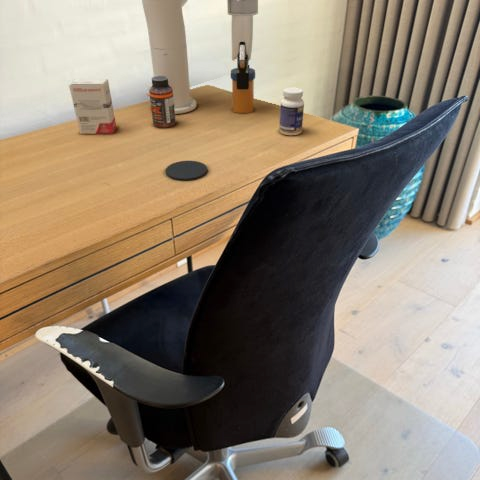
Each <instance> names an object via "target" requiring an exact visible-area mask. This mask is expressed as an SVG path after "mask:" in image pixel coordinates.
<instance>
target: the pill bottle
mask: <svg viewBox="0 0 480 480" xmlns="http://www.w3.org/2000/svg"><path fill="white" fill-rule="evenodd" d="M282 96H283V98H282V99H281V101H280V110H279V111H280V112H279V113H280V114H279V132H280V133H281V134H282V135H284V136H285V135H286V136H297V135H300V134H301V133H302V132H303V121H304V109H305V101H304V100H303V98H302V97H303V96H304V90H303V89H302V88H300V87H285V88H284V89H283V91H282Z"/></svg>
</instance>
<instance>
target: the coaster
mask: <svg viewBox="0 0 480 480" xmlns="http://www.w3.org/2000/svg"><path fill="white" fill-rule="evenodd" d="M207 173H208V166H207V165H206V164H204V163H203V162H200V161H196V160H180V161H176V162H173V163H171V164H169V165H168V166H166V168H165V175H166V176H167V177H168V178H170V179H172V180H175V181H183V182H184V181H185V182H187V181H194V180H198V179H201V178H203V177H204V176H206V174H207Z"/></svg>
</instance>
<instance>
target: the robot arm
mask: <svg viewBox="0 0 480 480" xmlns="http://www.w3.org/2000/svg"><path fill="white" fill-rule="evenodd" d="M187 2H188V0H141V3H142V9H143V13H144V17H145V21H146V22H145V23H146V27H147V33H148V40H149V41H148V42H149V48H150V57H151V65H152V72H153V73H152V74H153V77H155V76H166V77H167V78H168V85H169V86H171V87H172V89H173V98H174V109H175V115H178V114H179V115H181V114H185V113H189V112H191V111H194V110H195V109H196V108H197V101H196V99H195V98H193V97H191V85H190V72H189V60H188V59H189V57H188V46H187V35H186V26H185V21H184V20H185V19H184V15H183V7H184V6H185V5H186V4H187ZM226 4H227V6H226V7H227V8H226V9H227V15H229V16H231V29H230V30H231V31H230V32H231V60H232V61H233V62H235V60H236V61H237V63H236V66H237V67H236V68H237V89H249V72H248V68H250V64H249V61H251V59H252V52H253V51H252V50H253V39H254V37H253V35H254V16H256V15H258V14H259V0H226ZM151 87H152V86H149V87H148V90H147V91H146V95H147V96H148V97H150V94H149V89H150V88H151Z"/></svg>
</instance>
